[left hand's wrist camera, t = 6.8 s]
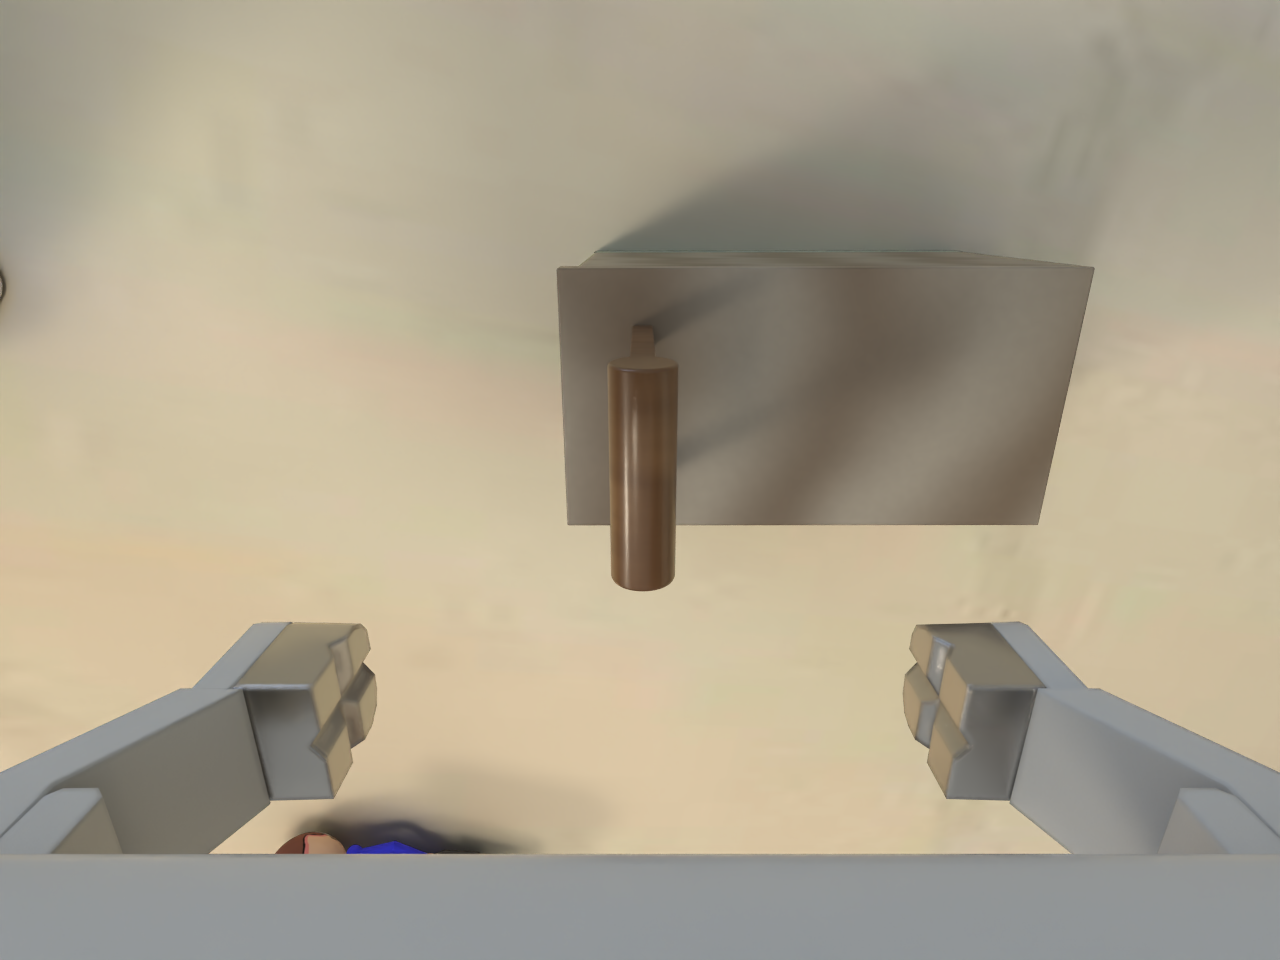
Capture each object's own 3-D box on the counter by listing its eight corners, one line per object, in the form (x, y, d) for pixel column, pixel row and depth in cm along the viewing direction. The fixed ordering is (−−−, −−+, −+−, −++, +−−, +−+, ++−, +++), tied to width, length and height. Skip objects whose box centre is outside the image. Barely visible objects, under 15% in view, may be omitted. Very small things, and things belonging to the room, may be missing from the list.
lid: (569, 515, 27) (538, 647, 19) (559, 266, 24) (515, 293, 16) (1026, 515, 27) (1194, 648, 19) (1079, 265, 24) (1312, 292, 15)
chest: (599, 438, 37) (585, 515, 27) (595, 251, 33) (577, 265, 24) (927, 438, 36) (1025, 515, 27) (955, 250, 33) (1078, 264, 24)
